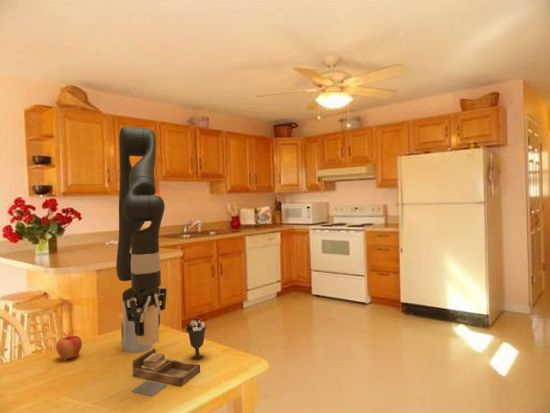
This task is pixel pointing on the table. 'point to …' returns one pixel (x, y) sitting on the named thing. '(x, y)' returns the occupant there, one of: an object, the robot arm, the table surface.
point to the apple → (69, 347)
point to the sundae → (196, 335)
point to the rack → (166, 370)
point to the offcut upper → (154, 360)
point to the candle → (150, 326)
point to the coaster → (149, 388)
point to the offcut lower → (156, 367)
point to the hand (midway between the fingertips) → (147, 331)
